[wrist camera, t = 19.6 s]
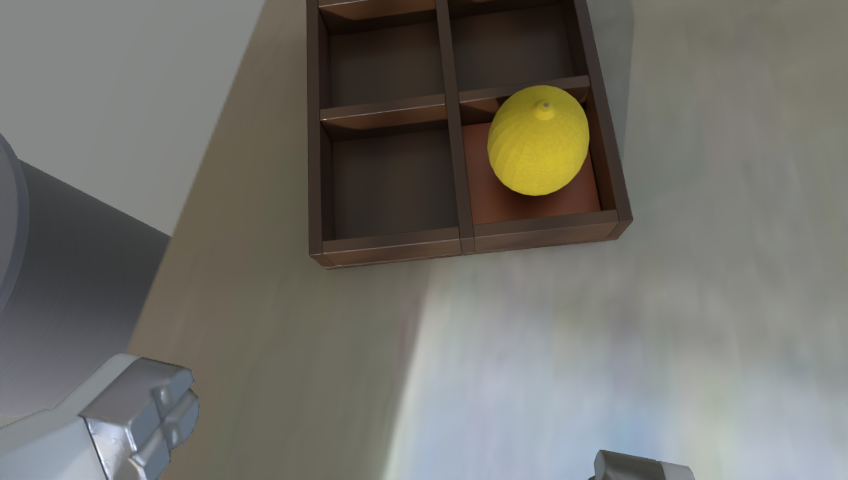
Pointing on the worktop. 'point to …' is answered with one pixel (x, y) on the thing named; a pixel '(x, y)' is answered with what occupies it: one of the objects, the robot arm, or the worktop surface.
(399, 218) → the grid
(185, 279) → the worktop surface
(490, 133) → the lemon
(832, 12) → the worktop surface
